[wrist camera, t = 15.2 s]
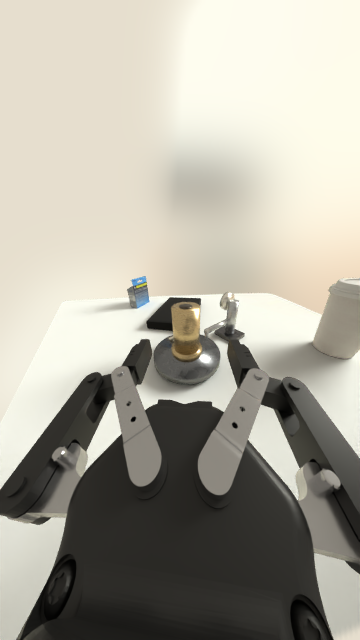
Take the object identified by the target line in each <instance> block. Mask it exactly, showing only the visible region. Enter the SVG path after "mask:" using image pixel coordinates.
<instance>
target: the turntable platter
mask: <svg viewBox="0 0 360 640" xmlns="http://www.w3.org/2000/svg"><path fill="white" fill-rule="evenodd" d="M199 342H200V343H201V345H202V354H201V356H200V358H198V359H197V360H195V361H192V362H181V361H178V360H177V359H175V358H174V357H173V355H172V348H171V347H172V344H173V343H174V337H173V335H172V336H169V337H167V338H165V339H164V340H163V341H161V342H160V343H159V344H158V345H157V347H156V349H155V351H154V361H155V366H156V369H157V371H158V372H159V373H160V374H161V375H162V376H163V377H164V378H166V379H167V380H169V381H171V382H174V383H178V384H195V383H199V382H202V381H205V380H207V379H208V378H210V377H211V376H212V375H213V374H214V373H215V372H216V371H217V369H218V366H219V361H220V351H219V348H218V347H217V345H216V344H215V343H214V342H213V341H212V340H211V339H209V338H208V339H205V336H203V335H199Z"/></svg>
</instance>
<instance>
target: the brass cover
mask: <svg viewBox="0 0 360 640" xmlns="http://www.w3.org/2000/svg"><path fill="white" fill-rule="evenodd" d="M171 311H172V324H173V337H174V343H173V344H172V347H171V348H172V355H173V357H174V358H175V359H177V360H178V361H181V362H192V361H195V360H197V359H198V358H200V356H201V354H202V345H201V343H200V342H199V335H200V305H199V304H197V303H193V302H180V303H176V304H174V305H173V306H172V307H171Z"/></svg>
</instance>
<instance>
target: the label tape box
mask: <svg viewBox="0 0 360 640" xmlns="http://www.w3.org/2000/svg"><path fill="white" fill-rule="evenodd" d="M139 280H142V282H139V283H137V281H139ZM131 281H132V284H133V286H132V287H130V288H129V289H127V291H128V295H129V300H130V304H131V307H132V308H139V307H141V306H142V305H144V304H146V303H148V302H149V296H148V288H147V282H146V277H145V276H144V277H140V278H137V279H132V280H131Z"/></svg>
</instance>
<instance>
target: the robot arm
mask: <svg viewBox="0 0 360 640" xmlns="http://www.w3.org/2000/svg"><path fill="white" fill-rule="evenodd" d="M227 355H228V359H229V362H230V366H231V369H232V372H233V375H234V378H235V381H236V384H237V387H238V388H237V390H236V392H235V394H234V396H233V397H232V399H231V401H230V403H229V405H228V406H227V408H226V410H225V412H222V411H221V410H219V409H218V408H215V407H213V406H212V402H205V401H197V402H192V403H188V404H182V403H179V402H176V401H173V400H158V404H155V405H153V406H151V407H149V408H147V409H146V410H144V407H143V405H142V402H141V399H140V397H139V394H138V392H137V389H136V385H137V384H141V383H142V381H143V378H144V375H145V373H146V370H147V367H148V365H149V362H150V359H151V356H152V349H151V345H150V340H149V339H141V341H140V343H139V344H136V345H135V346H134V347H133V348H132V349H131V351H130V353H129V354H128V356H127V358H126V359H125V361H124V363H123V364H122V366H121V367H118V368H116V369H115V370H114V371H113V372H112V374H108V375H104V376H101V374H100V373H98V372H95V373H91V374H89V375H88V376H86V377H85V378H84V379H83V381H82V382H81V383H80V384H79V386H78V387H77V388H76V390H75V391H74V392H73V394H72V395H71V396H70V398H69V399H68V400H67V402H66V403H65V404H64V406H63V407H62V408H61V410H60V411H59V412H58V414H57V415H56V416H55V418H54V419H53V420H52V422H51V423H50V424H49V426H48V427H47V428H46V430H45V431H44V432H43V434H42V435H41V436H40V438H39V439H38V440H37V442H36V443H35V444H34V446H33V447H32V448H31V450H30V451H29V452H28V454H27V455H26V456H25V457H24V459H23V460H22V461H21V463H20V464H19V465H18V467H17V468H16V469H15V471H14V472H13V473H12V475H11V476H10V477H9V479H8V480H7V481H6V483H5V484H4V485H3V487H2V488H1V490H0V515H3V516H6V517H7V518H8V519H11V520H14V521H18V522H22V523H33V524H36V525H40V524H43V523H45V522H46V521H48V520H49V519H50V518H51V517H59V518H66V522H65V528H64V533H63V537H62V541H61V545H60V548H59V551H58V555H57V558H56V561H55V564H54V566H53V569H52V571H51V574H50V576H49V578H48V580H47V582H46V584H45V586H44V588H43V590H42V592H41V594H40V596H39V598H38V600H37V602H36V604H35V606H34V607H33V609H32V611H31V613H30V615H29V617H28V619H27V621H26V622H25V624H24V626H23V628H22V630H21V632H20V634H19V635H18V637H17V639H16V640H334V639H333V637H332V634H331V631H330V628H329V625H328V622H327V619H326V616H325V612H324V609H323V605H322V601H321V597H320V593H319V588H318V583H317V577H316V570H315V562H314V553H317V554H321V555H325V556H329V557H333V558H337V559H341V560H345V561H346V563H347V564H348V565H349V566H350V567H351V568H352V569H354V570H355V571H356V572H357V573H359V574H360V458H359V457H358V456H357V454H356V453H355V452H354V450H353V449H352V448H351V446H350V445H349V444H348V442H347V441H346V440H345V438H344V437H343V435H342V434H341V433H340V431H339V430H338V429H337V427H336V426H335V425H334V423H333V422H332V421H331V419H330V418H329V417H328V415H327V414H326V413H325V411H324V410H323V409H322V407H321V406H320V404H319V403H318V402H317V400H316V399H315V398H314V396H313V395H312V394H311V392H310V391H309V390H308V388H307V387H306V386H305V385H304V384H303V383H302V382H301V381H299V380H297V379H295V378H292V377H285V378H284V379H283V380H282V381H281V380H277V379H274V378H270V377H268V375H267V374H266V373H265V372H264V371H262V370H260V369H259V367H258V365H257V363H256V362H255V360H254V358H253V357H252V354H251V353H250V351H249V349H248V348H247V347H246V346H245V345H244V344H240V342H239V340H238V339H229V343H228V351H227ZM114 399H115V403H116V408H117V413H118V418H119V423H120V427H121V432H122V434H121V435H120V436H119V437H118V438H117V439H116V440H115V441H114V442H113V443H112V444H111V445H110V446H109V447H108V448H107V449H106V450H105V451H104V452H103V453H102V454H101V455H100V456H99V457H98V458H97V459H96V460H95V461H94V463H93V464H92V465H91V466H90V467H89V468H88V469H87V470H86V471H85V467H86V464H87V460H88V455H87V452H86V451H87V449H88V446H89V444H90V442H91V440H92V438H93V436H94V434H95V432H96V430H97V427H98V425H99V423H100V421H101V419H102V417H103V415H104V413H105V411H106V408H107V406H108V404H109V402H110V401H111V400H114ZM260 404H261V405H264V406H267V407H270V408H273V409H274V411H275V413H276V415H277V418H278V420H279V422H280V425H281V427H282V429H283V431H284V434H285V436H286V438H287V440H288V443H289V445H290V447H291V449H292V452H293V454H294V456H295V459H296V461H297V463H298V465H299V468H300V469H299V470H298V471H297V473H296V476H295V477H296V484H297V487H298V492H299V499H298V500H297V499H296V498H295V496H294V494H293V493H292V492H291V490H290V489H289V488H288V486H287V485H286V484H285V483H284V482H283V480H282V479H281V478H280V477H279V476H278V475H277V473H276V472H275V471H274V470H273V469H272V467H271V466H270V465H269V464H268V463H267V462H266V460H265V459H264V458H263V457H262V456H261V455H260V453H259V452H258V451H257V450H256V449H255V448H254V446H253V445H252V444H251V443H250V442H249V441H248V438H249V435H250V432H251V429H252V427H253V424H254V421H255V418H256V415H257V413H258V410H259V407H260ZM84 471H85V473H84Z"/></svg>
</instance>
